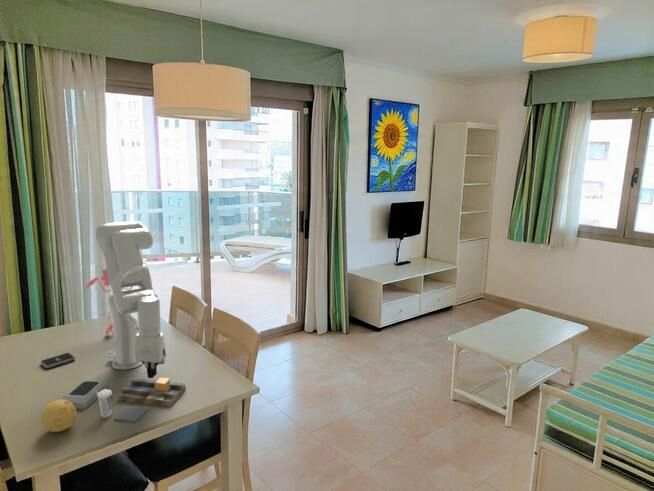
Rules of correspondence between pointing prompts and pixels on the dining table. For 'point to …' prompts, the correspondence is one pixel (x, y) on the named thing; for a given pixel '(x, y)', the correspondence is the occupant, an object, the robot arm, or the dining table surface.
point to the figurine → (106, 283)
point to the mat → (131, 413)
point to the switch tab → (162, 384)
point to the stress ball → (58, 415)
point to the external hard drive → (57, 360)
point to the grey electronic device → (85, 393)
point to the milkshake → (105, 402)
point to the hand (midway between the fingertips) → (152, 376)
